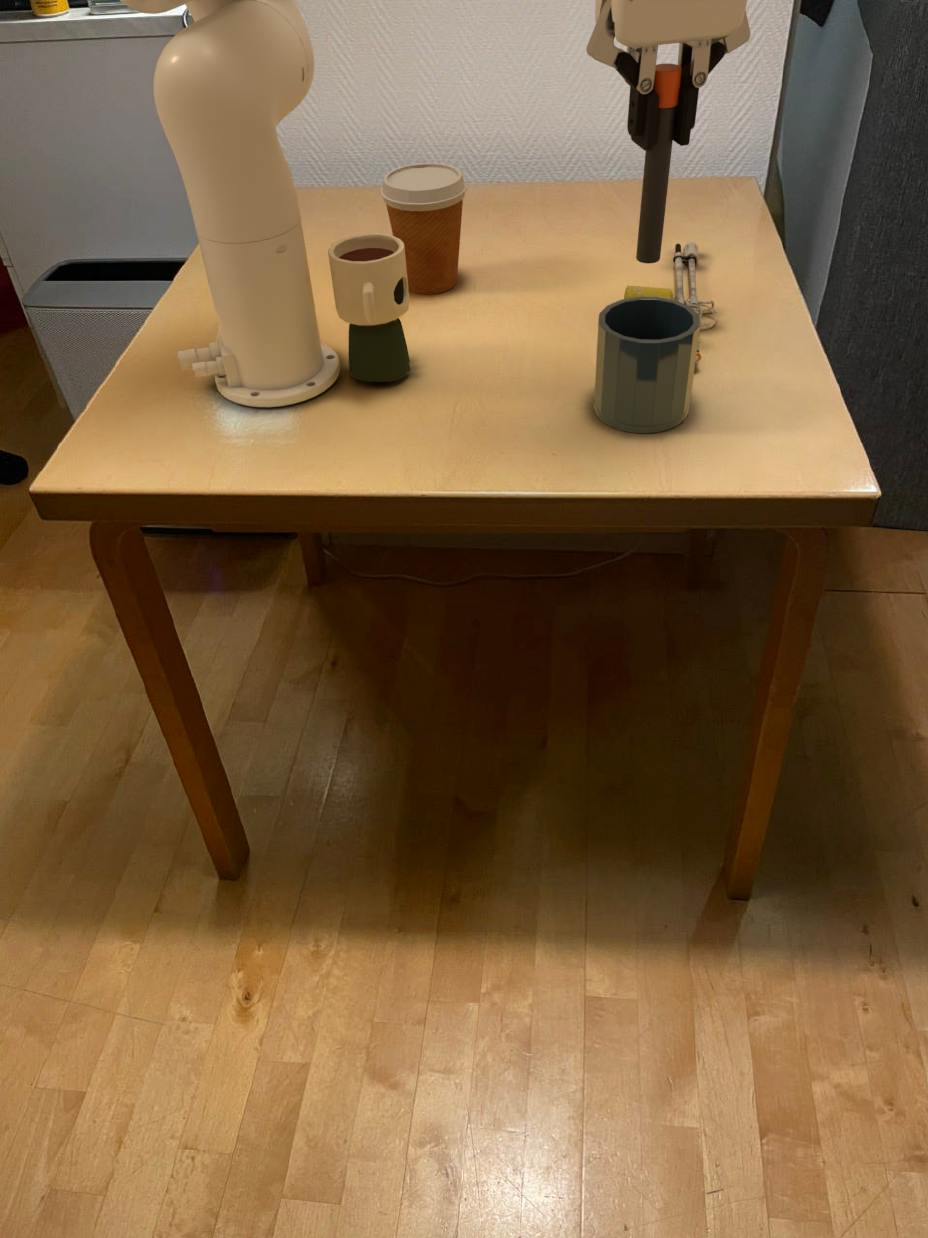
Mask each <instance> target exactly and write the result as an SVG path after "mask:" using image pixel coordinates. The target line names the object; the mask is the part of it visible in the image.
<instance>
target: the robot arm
mask: <svg viewBox="0 0 928 1238" xmlns="http://www.w3.org/2000/svg"><path fill="white" fill-rule="evenodd" d="M119 2H120V3H122V4H124V5H125V6H126V7H128V8H129V9H130V10H132V11H135V12H138V13H141V14H150V15H151V14H152V15H155V14H163V13H167V12H170V11H172V10H174V9H177V8H179V7H180V8H181V7H182V6H184V5H185V6H186V9H187V10H188V12H189V14H190V16H191V18H192V19H193V22H192V23H191V24H189V25H187V26H186V27H184V28H182V29H181V30H180V31H179V32H178V33H176V34H175V35H174V36H173V37H172V38H171V39H170V40H169V41H168V42H167V44H166V45H165V46H164V48H163V49H162V51H161V53H160V56H159V57H158V59H157V62H156V65H155V69H154V74H153V87H152V88H153V89H152V90H153V98H154V104H155V107H156V112H157V115H158V118H159V122H160V124H161V127H162V130H163V132H164V134H165V136H166V139H167V142H168V143H169V146H170V148H171V150H172V153H173V156H174V158H175V161H176V163H177V167H178V169H179V172H180V176H181V178H182V181H183V185H184V189H185V192H186V196H187V199H188V203H189V207H190V211H191V216H192V219H193V220H192V221H193V224H194V228H195V232H196V236H197V241H198V244H199V249H200V253H201V258H202V261H203V265H204V270H205V275H206V278H207V282H208V287H209V293H210V296H211V300H212V304H213V308H214V313H215V316H216V317H215V318H216V321H217V325H218V326H217V327H218V331H217V332H216V335H217V339H218V340H216V341H213V342H208V345H209V346H204V347H200V348H195V347H193V348H188V349H182V350H177V351H176V352H177V357H178V361H179V362H178V363H179V365H180V369H181V371H188V370H192V372H193V375H194V378H196V379H197V378H202V377H208V376H209V375H214V381H215V385H216V389H217V390H218V393H220V395H222V396H223V397H224V398H225V399H227V400H229V401H231V402H233V403H235V404H238V405H242V406H247V407H253V408H277V407H285V406H289V405H295V404H298V403H302V402H305V401H308V400H310V399H312V398H315V397H317V396H319V395H321V394H322V393H324V392H325V391H327V390H328V389H329V388H331V387H332V386H333V384H334V383H335V382H336V381H338V378H339V375H340V374H341V373H340V371H341V366H340V357H339V356H338V353H337V351H335V350H334V349H333V348H332V347H330V346H329V345H327V344H325V343H323V342H321V336H320V330H319V324H318V318H317V311H316V305H315V299H314V298H315V297H314V293H313V292H314V291H313V287H312V286H313V285H312V280H311V273H310V267H309V261H308V255H307V249H306V241H305V235H304V229H303V222H302V216H301V212H300V204H299V200H298V199H299V198H298V194H297V189H296V184H295V181H294V178H293V174H292V171H291V168H290V165H289V163H288V160H287V158H286V156H285V154H284V151H283V148H282V146H281V142H280V140H279V136H278V132H277V126H278V125H279V124H280V123H281V121H282V120H284V119H285V118H286V117H287V116H288V115H290V114H291V113H292V112H293V111H294V110H295V109H297V107H298V106H300V104H301V103H302V102H303V101H304V100H305V98H306V96H307V95H308V93H309V91H310V89H311V85H313V81H314V80H313V79H314V75H315V55H314V48H313V44H312V41H311V37H310V33H309V31H308V29H307V26H306V24H305V21H304V19H303V16H302V14H301V12H300V10H299V8H298V5H297V3H296V1H295V0H119ZM747 5H748V0H595V8H594V9H595V11H594V20H595V26H594V28H593V30H592V33H591V36H590V38H589V40H588V42H587V45H586V49H585V50H586V53H587V55H588V56H589V57H590V58H592V59H593V60H595V61H597V62H598V63H602V64H604V65H606V66H609V67H611V68H614V69H615V70H616V71H617V73H618V74H619V75H620V76H621V78H622V79H623V80H624V82H625V84H627V85H628V86H629V99H628V113H627V122H626V123H627V125H626V126H627V132H628V135H629V136H630V139H631V141H632V142H633V143H634V144H636V145H637V146H638V147H639V148H641V149H642V150H643V151H644V152H646V151H647V150H652V149H653V148H654V147H655V139H656V129H657V118H658V108H659V94H657V93H656V92H654V78H655V69H656V65H657V60H658V52H659V51H658V50H659V46H662V45H672V44H678V55H677V65H679V66H681V68H682V70H681V80H680V89H679V98H678V104H677V105H676V114H675V123H674V133H673V142H675V143H676V144H677V145H679V146H680V147H685V146H688V145H689V144H690V141H691V133H692V130H693V129H694V127H695V126H696V119H697V110H698V102H699V94H700V88H703V87H704V86H705V85H706V83H707V81H708V78H709V75H710V73H711V72H712V71H713V70H714V69H715V67H716V66H717V65H718V64H719V63H720V62H721V61H722V60H723V58H724V57H725V55H726V54H730V53H732V52H733V51H735V50H736V49H738V48H740V47H741V46H743V45H745V44H746V43H747V42H748V41H749V40H750V38H751V29H750V24H749V20H748V15H747ZM615 39H616V41H617V42H618V43H619V44H620V45H623V46H625V47H626V50H624V49H623V48H620V47H617V46H615V42H614V41H615Z"/></svg>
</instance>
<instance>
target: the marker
mask: <svg viewBox="0 0 928 1238" xmlns="http://www.w3.org/2000/svg"><path fill="white" fill-rule="evenodd" d="M681 70H682V68H681V66H679V65H678V64H675V63H656V69H655V78H654V92H656V93H657V94H659V108H658V118H657V129H656V139H655V147H654V148H653V149H652V150H647V151H645V153H644V165H643V175H642V176H643V177H642V189H641V198H640V200H641V201H640V209H639V210H640V211H639V221H638V232H637V244H636V256H635V259H636V261H638V262H639V263H642V264H654V263H658V262H659V261H660V259H661V254H662V244H663V236H664V235H663V234H664V226H665V217H666V207H667V196H668V188H669V178H670V170H671V162H672V161H671V159H672V151H673V143H674V141H673V133H674V123H675V114H676V105H677V104H678V98H679V89H680V80H681Z"/></svg>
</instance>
